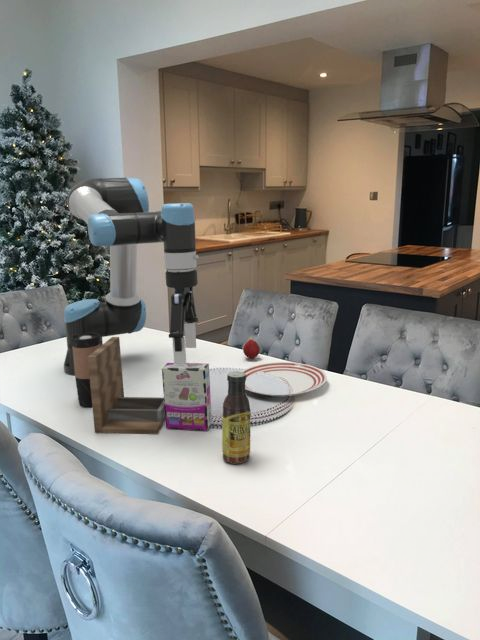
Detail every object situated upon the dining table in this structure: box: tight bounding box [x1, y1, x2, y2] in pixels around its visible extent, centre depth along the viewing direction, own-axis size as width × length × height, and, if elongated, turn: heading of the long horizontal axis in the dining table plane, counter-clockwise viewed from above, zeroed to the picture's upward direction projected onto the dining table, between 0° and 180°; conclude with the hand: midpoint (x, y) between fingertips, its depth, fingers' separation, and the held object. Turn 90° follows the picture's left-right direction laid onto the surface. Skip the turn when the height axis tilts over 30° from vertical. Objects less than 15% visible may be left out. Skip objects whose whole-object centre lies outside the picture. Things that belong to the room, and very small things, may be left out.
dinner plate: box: [241, 361, 327, 397], centre depth 161 cm, size 27×27×3 cm
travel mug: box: [72, 333, 100, 409], centre depth 149 cm, size 8×8×20 cm
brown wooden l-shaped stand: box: [88, 336, 166, 435], centre depth 137 cm, size 18×16×20 cm
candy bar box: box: [161, 362, 213, 432], centre depth 133 cm, size 11×5×16 cm, turn 80°
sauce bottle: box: [221, 370, 252, 465], centre depth 115 cm, size 6×6×20 cm
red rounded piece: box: [242, 337, 261, 361], centre depth 186 cm, size 6×6×8 cm
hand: (185, 355), depth 130 cm, fingers open, 13 cm apart
